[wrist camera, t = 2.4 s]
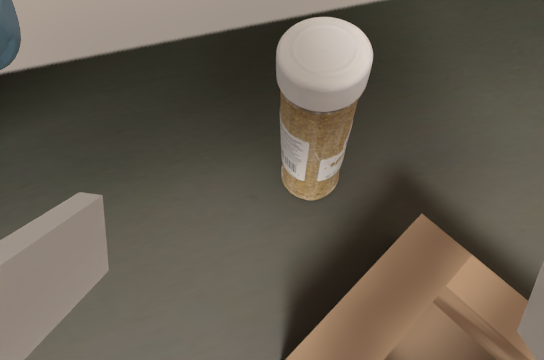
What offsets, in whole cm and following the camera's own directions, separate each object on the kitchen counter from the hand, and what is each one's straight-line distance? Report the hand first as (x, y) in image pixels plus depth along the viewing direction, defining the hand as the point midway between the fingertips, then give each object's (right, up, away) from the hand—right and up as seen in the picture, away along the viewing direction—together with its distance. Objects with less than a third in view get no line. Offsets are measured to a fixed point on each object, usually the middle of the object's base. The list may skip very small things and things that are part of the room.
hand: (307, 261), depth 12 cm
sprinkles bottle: (+2, +3, +18) cm, 19 cm away
